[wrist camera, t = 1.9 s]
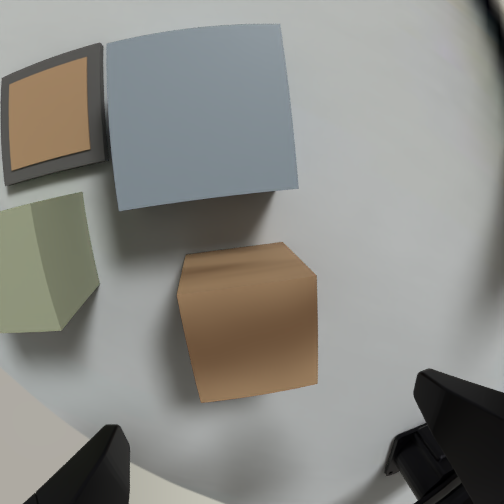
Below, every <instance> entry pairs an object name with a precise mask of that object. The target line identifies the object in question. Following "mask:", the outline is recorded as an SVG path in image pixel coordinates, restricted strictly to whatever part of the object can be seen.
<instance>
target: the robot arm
mask: <svg viewBox="0 0 504 504" xmlns="http://www.w3.org/2000/svg"><path fill="white" fill-rule="evenodd" d="M413 394H414V398H415V401H416V403H417V405H418V407H419V409H420V411H421V413H422V415H423V417H424V419H425V421H426V424H424V425H421V426H419V427H417V428H414V429H412V430H410V431H407V432H405V433H402V434H400V435H398V436H397V437H396V439H395V442H394V445H393V449H392V452H391V455H390V458H389V461H388V464H387V467H386V470H385V474H386V476H389V475H392V474H394V473H397V472H399V471H400V472H401V474H402V476H403V477H404V479H405V480H406V482H407V484H408V485H409V487H410V488H411V490H412V492H413V493H414V495H415V497H416V498H417V500H418V501H417V502H416V503H414V504H504V393H503V392H500V391H496V390H493V389H490V388H487V387H484V386H481V385H478V384H475V383H472V382H469V381H466V380H463V379H460V378H457V377H454V376H451V375H448V374H445V373H442V372H439V371H436V370H433V369H426V370H423V371H420V372H419V373H418V375H417V378H416V383H415V387H414V393H413ZM129 493H130V446H129V443H128V441H127V439H126V437H125V435H124V433H123V431H122V428H121V427H120V426H119V425H117V424H107V425H105V426H104V427H103V428H102V429H101V430H100V431H99V432H98V433H96V434H95V435H94V436H93V437H92V438H91V439H90V440H89V441H88V442H87V443H86V444H85V445H84V446H83V447H82V448H81V449H80V450H79V451H78V452H77V453H76V454H75V455H74V456H73V457H72V458H71V459H70V460H69V461H68V462H67V463H66V464H65V465H64V466H63V467H61V468H60V469H59V470H58V471H57V472H56V473H55V474H54V475H53V476H52V477H51V478H50V479H49V480H48V481H47V482H46V483H45V484H44V485H43V486H42V487H41V488H39V489H38V490H37V492H36V493H34V494H33V495H32V496H31V497H30V498H29V499H28V500H27V501H25V502H24V503H23V504H128V502H129Z"/></svg>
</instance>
